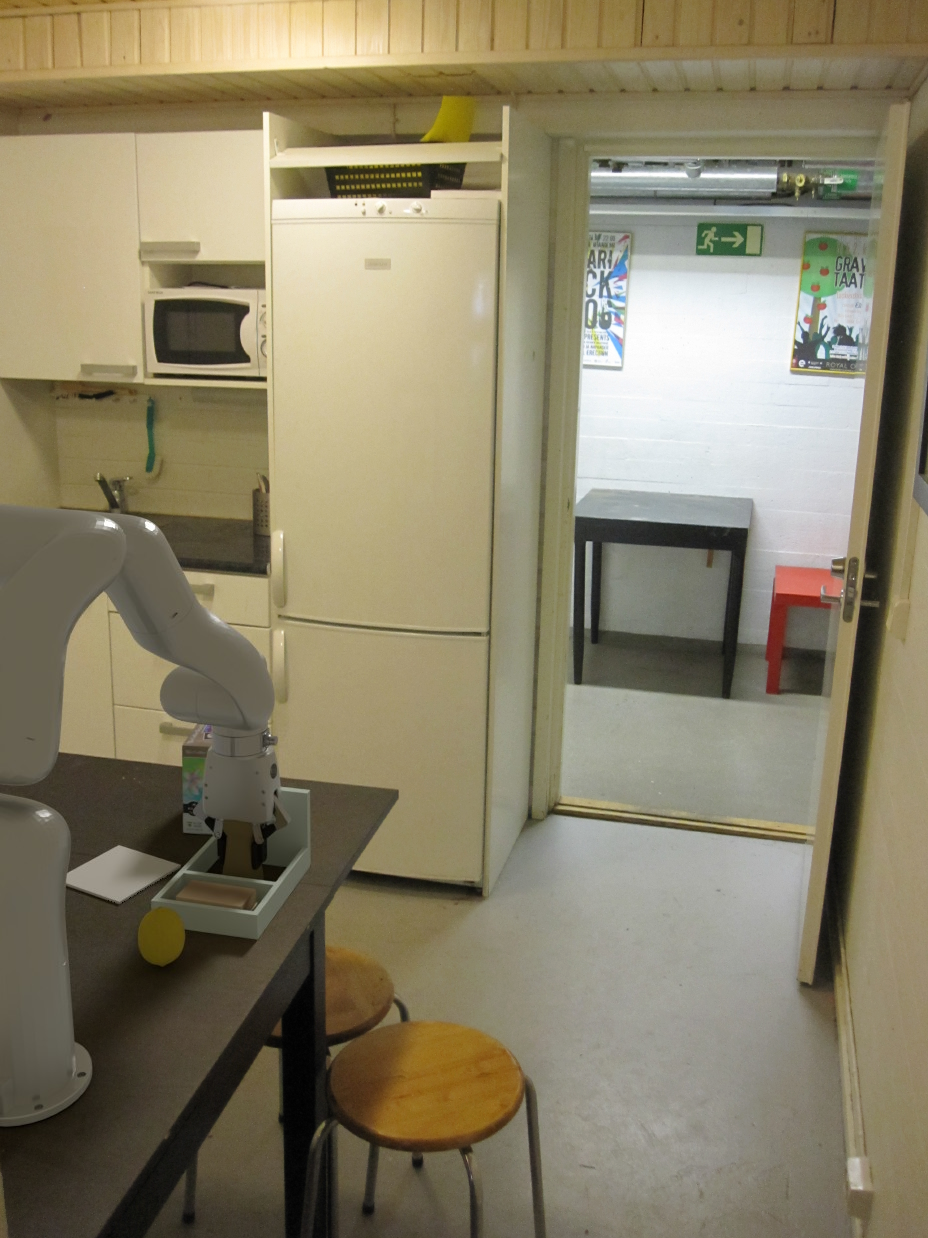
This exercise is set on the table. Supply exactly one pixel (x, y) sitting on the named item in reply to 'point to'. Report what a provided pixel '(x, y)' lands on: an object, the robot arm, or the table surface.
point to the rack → (282, 850)
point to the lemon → (161, 936)
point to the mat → (119, 874)
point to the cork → (239, 850)
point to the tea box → (194, 776)
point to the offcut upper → (218, 895)
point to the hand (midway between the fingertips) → (242, 862)
